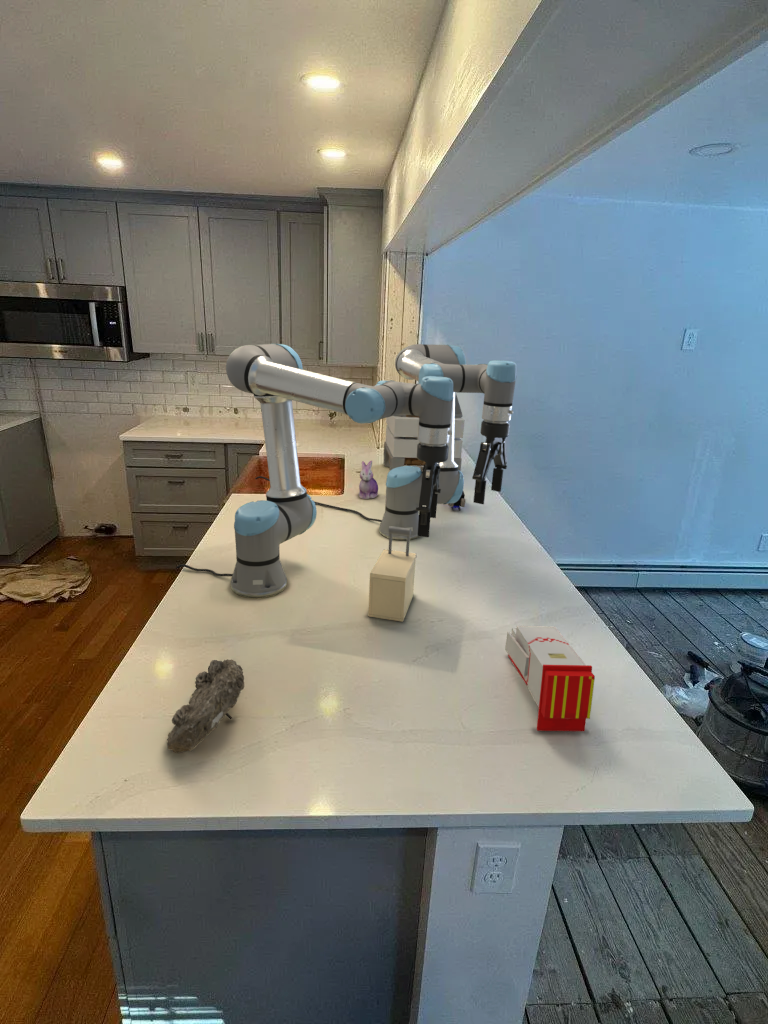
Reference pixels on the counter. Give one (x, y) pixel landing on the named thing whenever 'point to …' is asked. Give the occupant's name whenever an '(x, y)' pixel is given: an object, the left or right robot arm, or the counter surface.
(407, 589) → the chest
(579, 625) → the counter surface
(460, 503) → the figurine character
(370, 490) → the figurine
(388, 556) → the lid
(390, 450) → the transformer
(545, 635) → the toy
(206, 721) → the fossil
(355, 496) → the counter surface
